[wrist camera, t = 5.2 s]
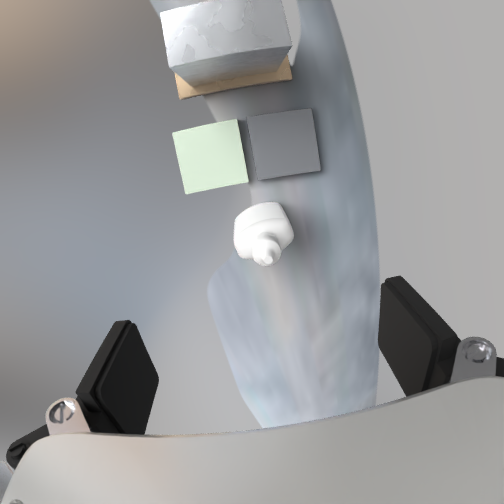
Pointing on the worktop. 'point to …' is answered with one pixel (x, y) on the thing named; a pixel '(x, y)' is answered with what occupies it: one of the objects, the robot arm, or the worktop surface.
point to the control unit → (226, 45)
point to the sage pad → (210, 156)
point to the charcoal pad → (283, 143)
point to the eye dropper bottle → (262, 233)
